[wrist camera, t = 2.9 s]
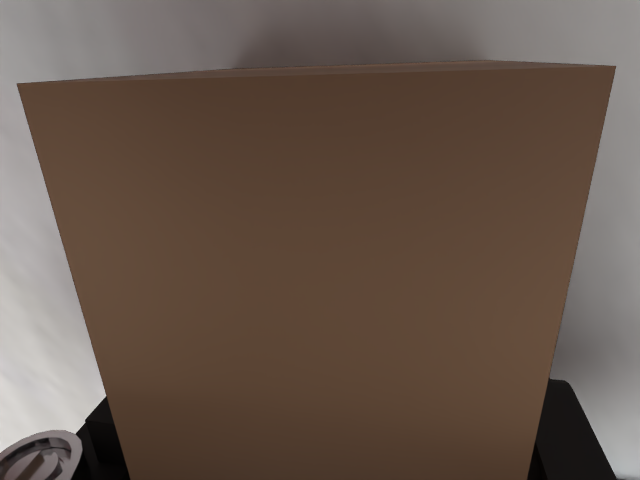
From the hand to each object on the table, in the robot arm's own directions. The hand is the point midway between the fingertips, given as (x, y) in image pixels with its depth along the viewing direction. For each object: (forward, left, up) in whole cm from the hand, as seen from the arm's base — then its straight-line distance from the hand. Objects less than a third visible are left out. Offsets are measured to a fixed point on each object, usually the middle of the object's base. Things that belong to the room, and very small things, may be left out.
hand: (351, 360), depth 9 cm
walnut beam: (0, 0, -1) cm, 1 cm away
